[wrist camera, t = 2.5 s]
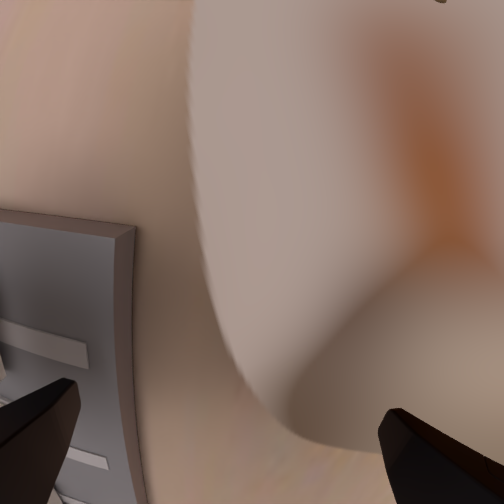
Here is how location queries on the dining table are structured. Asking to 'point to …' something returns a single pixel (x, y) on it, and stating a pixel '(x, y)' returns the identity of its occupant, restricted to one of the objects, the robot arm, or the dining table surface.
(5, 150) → the dining table surface
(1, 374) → the slider near
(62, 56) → the dining table surface
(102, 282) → the switch panel
